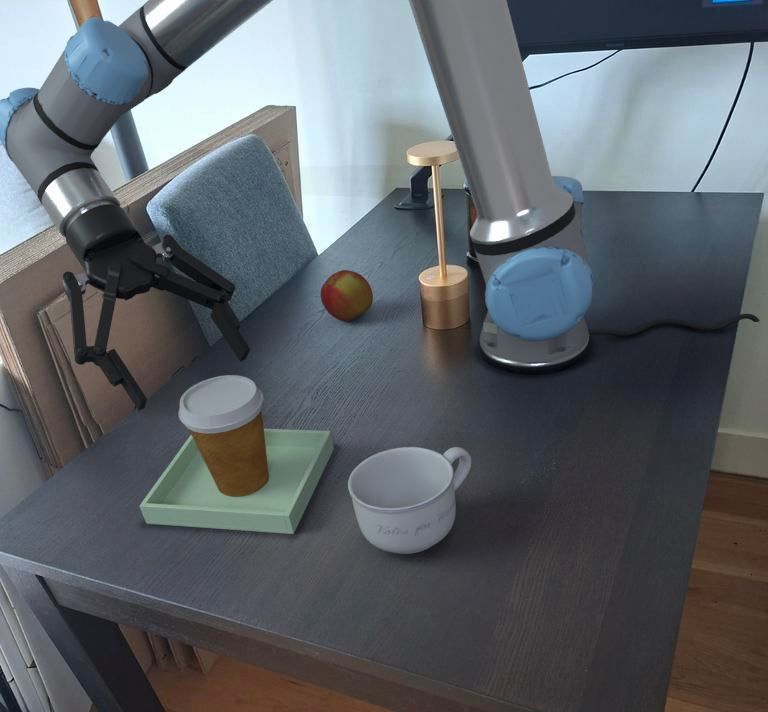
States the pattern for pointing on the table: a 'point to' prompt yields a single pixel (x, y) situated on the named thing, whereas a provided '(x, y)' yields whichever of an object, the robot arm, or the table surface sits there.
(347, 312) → the apple
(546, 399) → the table surface
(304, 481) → the tray
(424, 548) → the teacup
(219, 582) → the table surface
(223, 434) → the disposable coffee cup
